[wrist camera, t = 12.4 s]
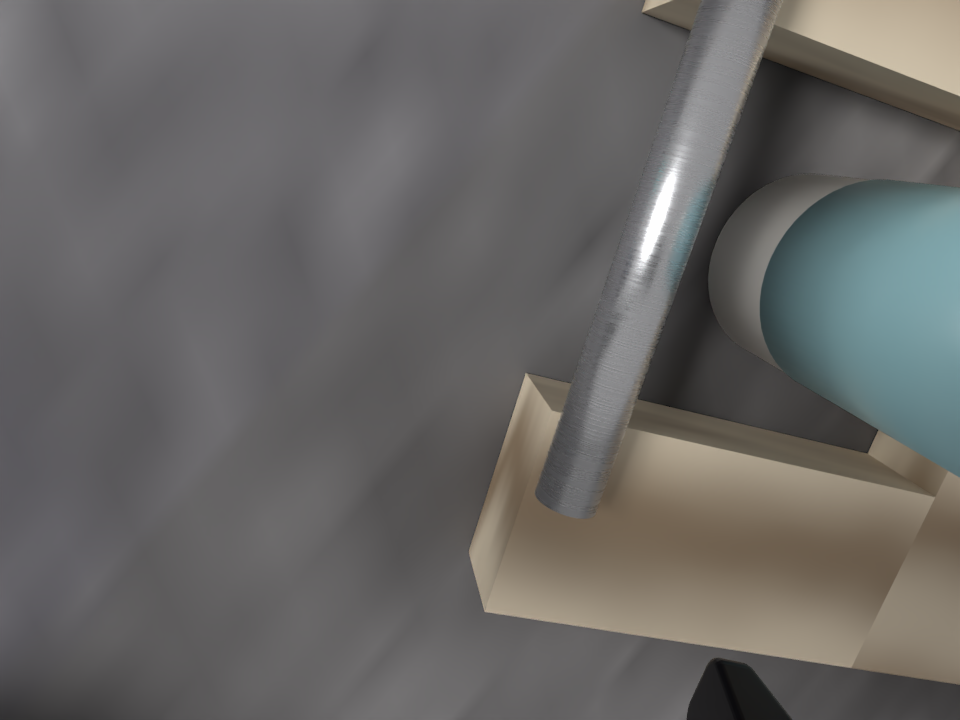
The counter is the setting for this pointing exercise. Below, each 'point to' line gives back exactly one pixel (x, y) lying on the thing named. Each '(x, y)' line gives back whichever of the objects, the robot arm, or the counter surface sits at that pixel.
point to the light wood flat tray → (754, 462)
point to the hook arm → (655, 248)
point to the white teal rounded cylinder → (852, 298)
